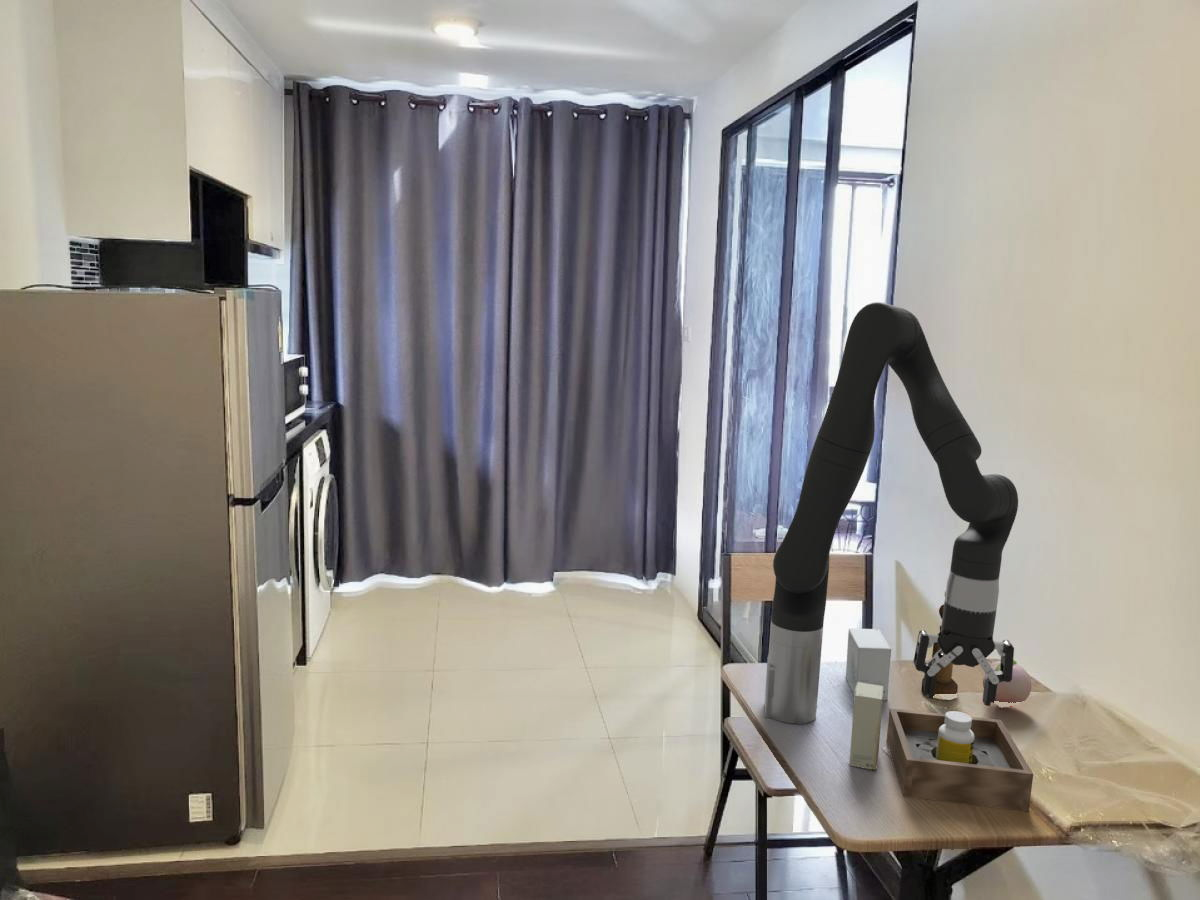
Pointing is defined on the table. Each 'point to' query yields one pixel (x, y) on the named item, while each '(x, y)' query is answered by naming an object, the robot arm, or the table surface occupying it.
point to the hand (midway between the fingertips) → (957, 700)
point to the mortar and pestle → (943, 672)
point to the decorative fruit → (1012, 684)
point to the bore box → (984, 782)
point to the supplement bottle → (955, 738)
